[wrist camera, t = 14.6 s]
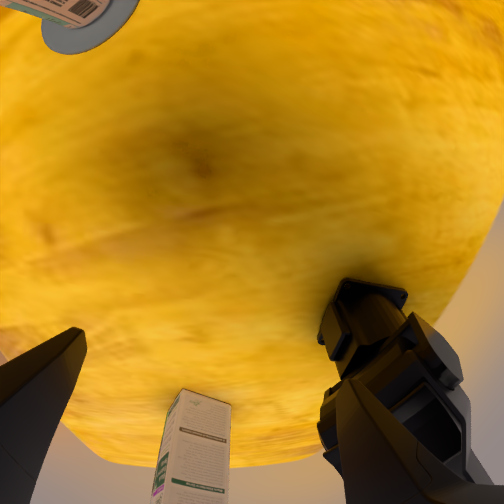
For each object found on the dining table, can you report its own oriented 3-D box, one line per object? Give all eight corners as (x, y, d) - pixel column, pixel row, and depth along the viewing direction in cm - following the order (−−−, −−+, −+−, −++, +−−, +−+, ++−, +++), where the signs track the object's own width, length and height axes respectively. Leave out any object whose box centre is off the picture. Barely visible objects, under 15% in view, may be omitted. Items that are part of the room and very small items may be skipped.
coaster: (158, -46, 12) (156, -48, 11) (123, 52, 15) (120, 51, 15) (64, -30, 11) (62, -32, 11) (32, 59, 15) (30, 59, 14)
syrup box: (181, 386, 28) (156, 515, 14) (234, 404, 29) (228, 529, 15) (167, 411, 30) (143, 522, 16) (214, 427, 31) (204, 535, 17)
